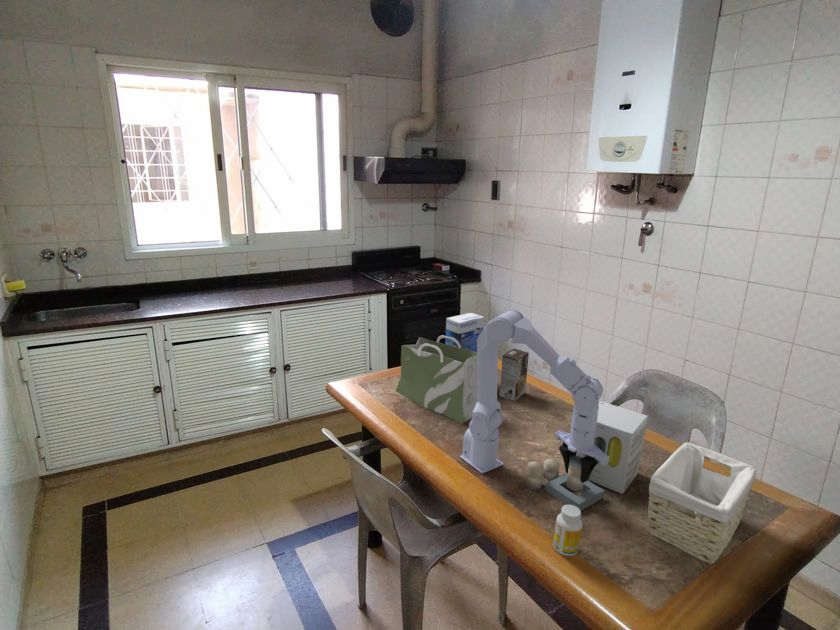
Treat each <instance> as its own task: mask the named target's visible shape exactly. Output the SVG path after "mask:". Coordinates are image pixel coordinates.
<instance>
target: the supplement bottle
mask: <svg viewBox="0 0 840 630" xmlns="http://www.w3.org/2000/svg"><path fill="white" fill-rule="evenodd" d="M581 511H582V510H581ZM581 511H580V509H579V508H578V507H576V506H574V505H566V504H565V505H563V506H561V510H560V513H559V514H557V516H556V520H555V527H554V534H553V541H552V542H553V543H552V544H553V548H554V550H555V551H556V552H557V553H558V554H560V555H563V556H567V557H572V556H575V555H577V553H578V552H579V550H580V543H581V536H582V532H583V531H582V530H583V521H582V519H581V517H582V512H581Z"/></svg>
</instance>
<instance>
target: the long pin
mask: <svg viewBox="0 0 840 630" xmlns="http://www.w3.org/2000/svg"><path fill="white" fill-rule="evenodd" d="M581 458H583V457H581V456H577V455H576V456H571V457H570V461H569V469H568V476H567V484H566V485H567V489H569V490H570V491H575V492H580V491H581V490H582V489H583V484H584V483H582V482H581V461H580V459H581ZM581 492H582V491H581Z"/></svg>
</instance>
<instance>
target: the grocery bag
mask: <svg viewBox="0 0 840 630" xmlns="http://www.w3.org/2000/svg"><path fill="white" fill-rule="evenodd" d="M446 338H448V339H450V340H453V341H454V342H456V343H457V345H458V347H455V346H451V345H447V344H445V343H442V342H440V340H441V339H446ZM400 348H401V351H400V378H399V380H398V382H397V387H396V389H395V393H398V394H400V395H402V396H404V397H406V398H408V399H409V400H411V401H413V402H415V403H416V404H418V405H419V406H421V407H422V408H425V409H427V410H430V411H433V412H435V413H438V414H441V415H442V416H446V417H448V418H450V419H452V420H453V421H455V422H457V423H459V424H461V425H462V424H464V423H465V422H468V421H469V420H472V413H473V410H474V408H475V406H476V403H477V352H474V351H471V350H468V349H464V348H461V346H460V344H459V342H458V341H457V340H456V339H454V338H452V337H447V336H446V335H443V334H442V335H439V336H438V337H437V338H436V341H434V340H430V339H428V338H424V337H418V340H417V341H416V344H414V343H413V344H403V345H401V347H400Z"/></svg>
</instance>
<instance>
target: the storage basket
mask: <svg viewBox="0 0 840 630" xmlns="http://www.w3.org/2000/svg"><path fill="white" fill-rule="evenodd" d="M705 460H706V461H708V462H710V463H713V464H716V465H718V466H721V467H723V468H726V469H730V475H729V476H728V475H724V474H721V473H718V472H715V471H713V470H709V469H706V468H705V467H704V466H703V465H704V461H705ZM756 477H757V469H756V468H755V467H754V465H752V464H751V465H750V464H748V463H745V462H744V461H740V460H738V459H737V458H733V457H731V456H728V455H726V454H723V453H720V452H717V451H715V450H712V449H708V448H707V447H704V446H700V445H696V444H694V443H691V442H689V441H687V442H684V443H683V444H681V445H680V446H679V447H678V448H677V449H676V450H675V451H674V452H673V453H672V454H671V455H670V456H669V457H668V459H666V461H664V462H663V464H661V466H660V467H659V468H658V469H657V470H655V472H654V473H653V474H652V476H651V477H650V482H649V486H648V494H649V496H648V508H647V509H648V510H647V521H648V522H647V526H646V530H647V532H648V533H649V534H650V535H652V536H654V537H656V538H658V539H660V540H662V541H663V542H666V543H667V544H670V545H671V546H673V547H674V548H677V549H679V550H680V551H683V552H684V553H686V554H688V555H690V556H693V557H695V558H696V559H698V560H700V561H702V562H706V563H707V564H710V565H714V564H715V562H716V561H717V560H718V559H719V557H720V556H721V555H722V553H723V552H724V550H725V548H727V547H728V546H729V543H730V542H731V540H732V538H733V536H734V534H735V531H736V530H737V529H738V526H739V524H740V523H741V520H742V519H743V517H742V516H743V514H744V510H745V507H746V504H747V501H748V499H749V493H750V491H751V490H752V486H753V485H754V482H755V480H756Z"/></svg>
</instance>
